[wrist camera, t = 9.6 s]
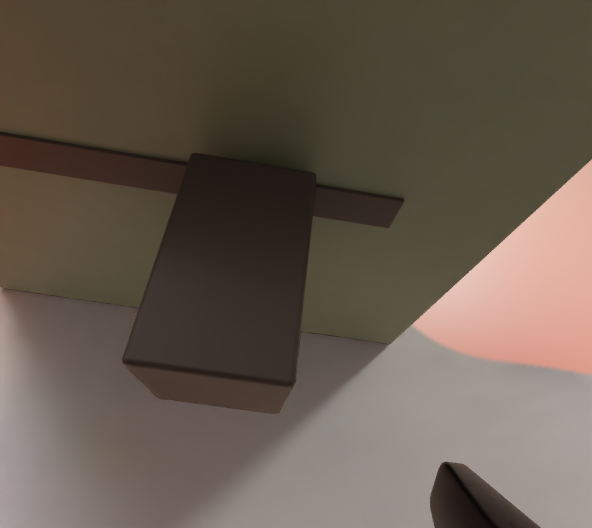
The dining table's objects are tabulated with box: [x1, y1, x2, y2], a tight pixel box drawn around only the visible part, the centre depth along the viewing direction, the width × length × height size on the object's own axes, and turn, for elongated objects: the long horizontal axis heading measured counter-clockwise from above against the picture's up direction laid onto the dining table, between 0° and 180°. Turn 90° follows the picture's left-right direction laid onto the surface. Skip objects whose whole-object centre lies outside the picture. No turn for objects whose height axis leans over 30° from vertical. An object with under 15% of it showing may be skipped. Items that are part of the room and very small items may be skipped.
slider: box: [122, 153, 317, 414], centre depth 7 cm, size 4×2×3 cm, turn 174°
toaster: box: [0, 0, 592, 344], centre depth 12 cm, size 10×16×14 cm, turn 84°
